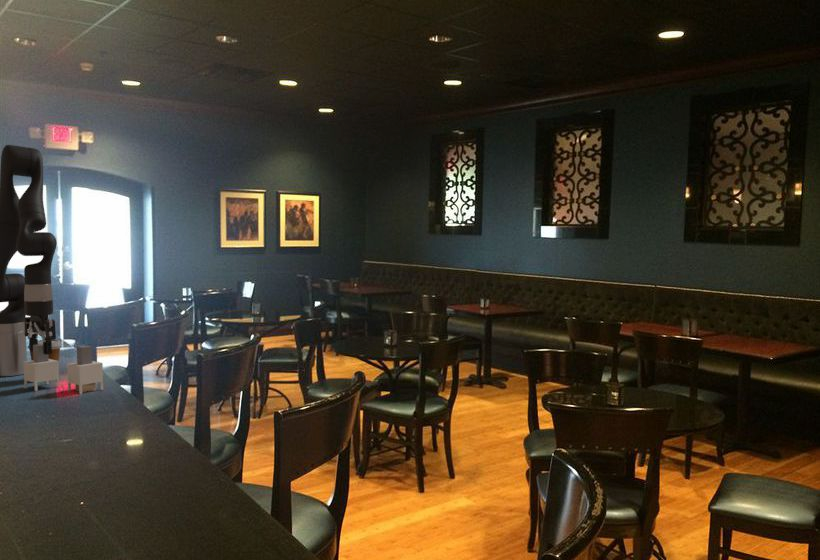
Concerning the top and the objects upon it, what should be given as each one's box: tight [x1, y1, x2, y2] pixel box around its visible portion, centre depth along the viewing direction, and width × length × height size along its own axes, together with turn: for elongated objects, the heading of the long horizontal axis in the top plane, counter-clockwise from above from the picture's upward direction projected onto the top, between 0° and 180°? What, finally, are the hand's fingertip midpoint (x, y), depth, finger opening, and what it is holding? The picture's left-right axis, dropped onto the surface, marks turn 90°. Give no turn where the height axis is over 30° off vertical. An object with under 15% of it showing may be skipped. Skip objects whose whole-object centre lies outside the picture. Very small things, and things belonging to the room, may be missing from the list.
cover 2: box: [66, 345, 104, 395], centre depth 204 cm, size 7×7×13 cm
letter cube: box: [74, 382, 97, 393], centre depth 204 cm, size 4×4×4 cm
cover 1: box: [23, 344, 60, 392], centre depth 207 cm, size 7×7×13 cm
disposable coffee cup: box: [27, 339, 62, 361], centre depth 220 cm, size 10×10×12 cm
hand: (40, 352), depth 207 cm, fingers open, 8 cm apart
